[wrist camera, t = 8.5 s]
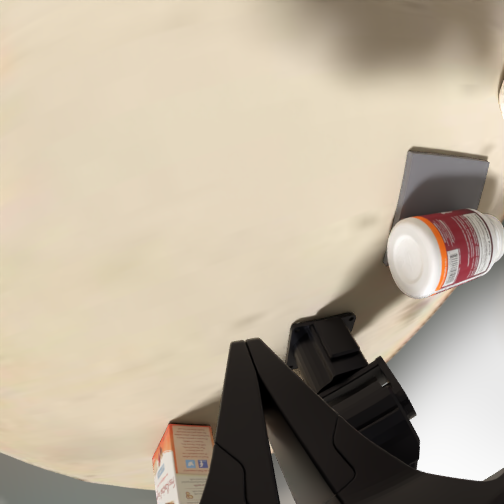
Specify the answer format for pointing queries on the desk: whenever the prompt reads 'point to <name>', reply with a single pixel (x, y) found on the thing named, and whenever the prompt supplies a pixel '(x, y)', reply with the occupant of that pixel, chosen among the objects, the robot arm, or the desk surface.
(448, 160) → the mat
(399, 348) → the desk surface
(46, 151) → the desk surface
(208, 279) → the desk surface
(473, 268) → the pill bottle
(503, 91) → the cat figurine
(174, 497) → the cracker box
